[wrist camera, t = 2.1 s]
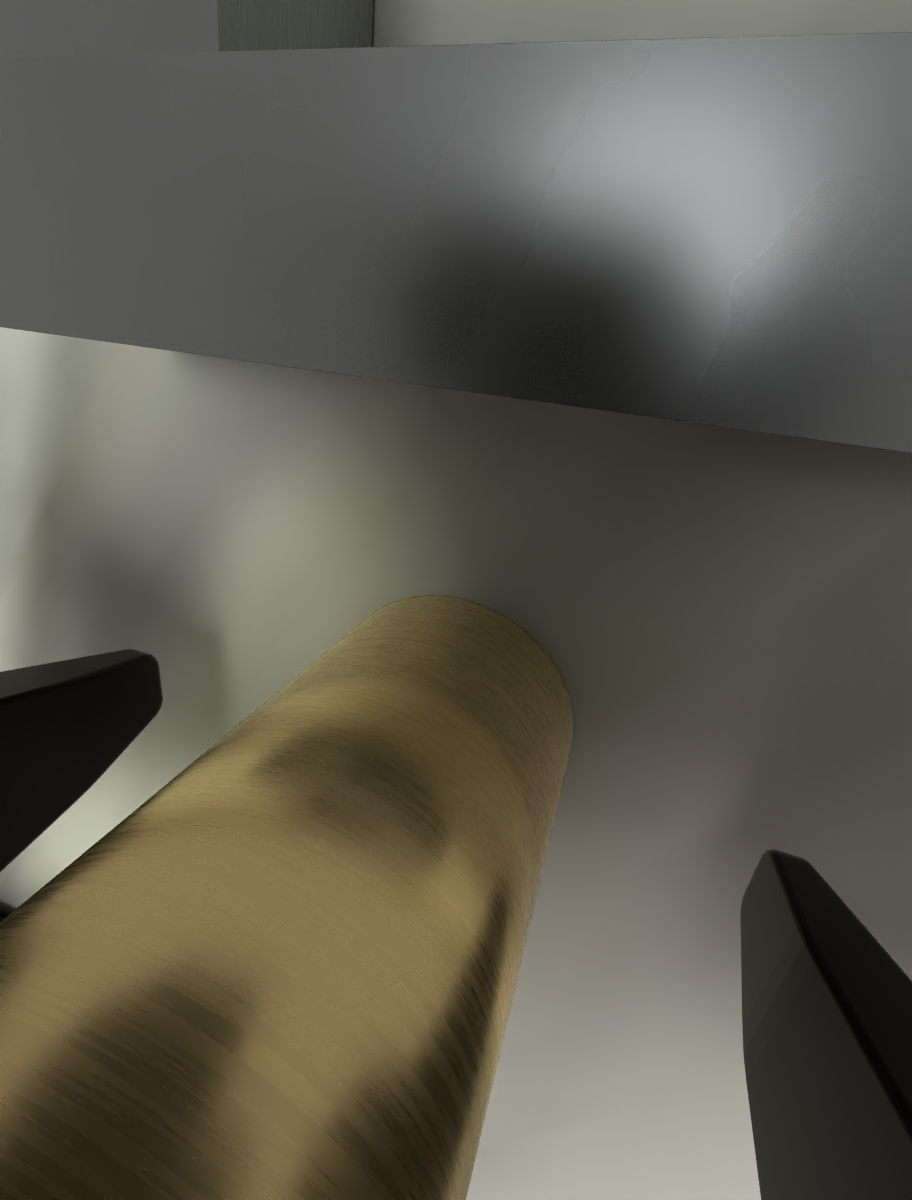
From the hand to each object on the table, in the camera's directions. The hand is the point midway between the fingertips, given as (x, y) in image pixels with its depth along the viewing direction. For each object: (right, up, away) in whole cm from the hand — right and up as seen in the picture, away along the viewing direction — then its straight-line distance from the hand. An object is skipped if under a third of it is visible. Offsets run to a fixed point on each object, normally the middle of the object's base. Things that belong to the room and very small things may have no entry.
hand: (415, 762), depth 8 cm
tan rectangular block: (0, 0, +1) cm, 1 cm away
